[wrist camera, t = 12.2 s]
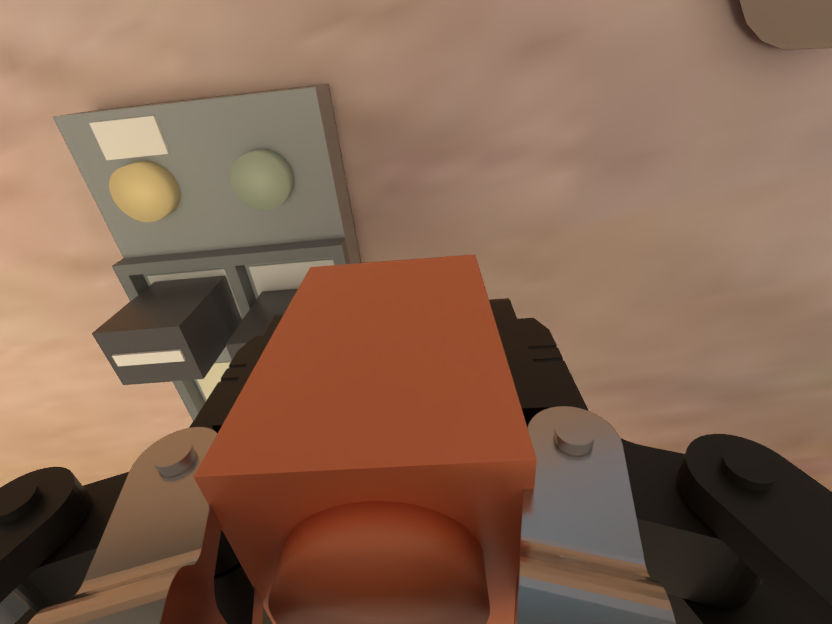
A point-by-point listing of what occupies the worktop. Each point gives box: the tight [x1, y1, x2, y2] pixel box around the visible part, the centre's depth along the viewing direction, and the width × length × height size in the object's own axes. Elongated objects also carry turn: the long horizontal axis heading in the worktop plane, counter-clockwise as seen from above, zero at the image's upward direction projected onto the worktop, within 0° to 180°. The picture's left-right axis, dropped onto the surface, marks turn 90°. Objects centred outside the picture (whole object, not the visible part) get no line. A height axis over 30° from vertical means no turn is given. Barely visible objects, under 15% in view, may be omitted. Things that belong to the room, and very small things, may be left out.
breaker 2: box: [226, 289, 298, 360], centre depth 21 cm, size 3×4×5 cm
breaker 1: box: [92, 276, 242, 385], centre depth 21 cm, size 3×4×5 cm
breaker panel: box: [53, 84, 361, 421], centre depth 24 cm, size 20×12×4 cm, turn 6°
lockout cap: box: [194, 255, 537, 624], centre depth 8 cm, size 4×4×7 cm
